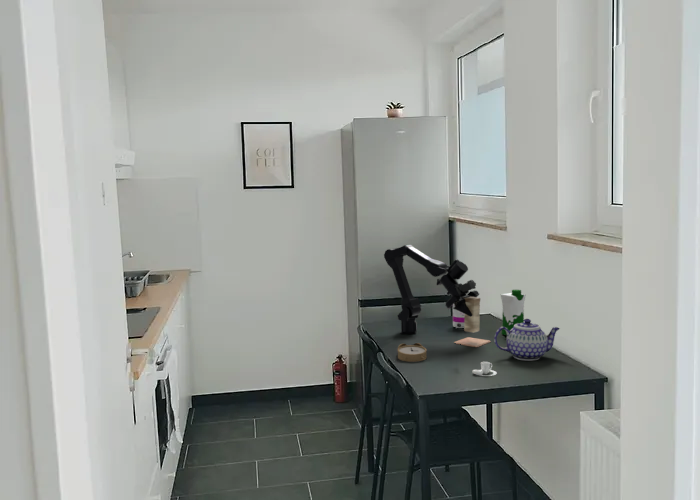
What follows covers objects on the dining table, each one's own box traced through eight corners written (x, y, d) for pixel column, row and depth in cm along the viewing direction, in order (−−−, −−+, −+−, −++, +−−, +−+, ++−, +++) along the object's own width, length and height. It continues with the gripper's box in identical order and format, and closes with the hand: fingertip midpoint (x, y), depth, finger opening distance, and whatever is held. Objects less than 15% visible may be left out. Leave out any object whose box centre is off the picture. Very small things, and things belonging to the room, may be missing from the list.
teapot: (497, 363, 247) (497, 323, 246) (490, 352, 262) (490, 315, 261) (565, 362, 246) (566, 322, 245) (554, 351, 262) (554, 314, 260)
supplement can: (472, 329, 305) (471, 296, 303) (454, 329, 305) (453, 297, 304) (469, 325, 313) (469, 293, 312) (451, 325, 313) (451, 294, 312)
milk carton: (513, 337, 286) (513, 292, 284) (498, 334, 293) (498, 289, 291) (527, 335, 290) (527, 289, 288) (512, 331, 298) (512, 287, 296)
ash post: (463, 331, 278) (464, 298, 277) (470, 329, 282) (470, 296, 280) (473, 332, 275) (474, 299, 274) (479, 330, 279) (480, 297, 277)
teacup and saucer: (473, 377, 231) (473, 366, 231) (470, 371, 239) (470, 359, 239) (498, 377, 231) (498, 365, 230) (494, 370, 239) (494, 359, 238)
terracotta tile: (453, 343, 279) (453, 342, 279) (468, 338, 287) (468, 337, 287) (476, 347, 271) (476, 345, 271) (490, 342, 279) (490, 340, 279)
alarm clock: (399, 355, 251) (394, 339, 266) (399, 367, 252) (394, 350, 267) (429, 354, 252) (422, 338, 266) (428, 366, 253) (422, 349, 267)
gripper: (451, 277, 272) (474, 306, 266) (475, 271, 286) (498, 299, 279) (435, 294, 278) (458, 323, 272) (459, 288, 292) (481, 315, 286)
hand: (474, 315), depth 277 cm, fingers closed on ash post, 4 cm apart
